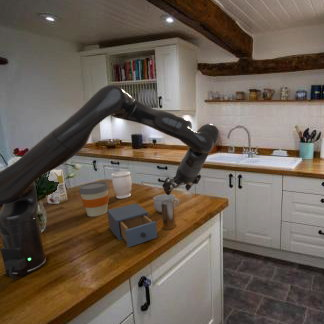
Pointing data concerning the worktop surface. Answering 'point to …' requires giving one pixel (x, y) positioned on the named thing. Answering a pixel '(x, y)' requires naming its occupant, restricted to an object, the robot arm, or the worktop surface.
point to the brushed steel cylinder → (168, 214)
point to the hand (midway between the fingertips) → (177, 190)
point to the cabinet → (123, 216)
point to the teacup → (164, 197)
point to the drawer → (138, 230)
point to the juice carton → (60, 193)
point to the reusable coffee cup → (95, 198)
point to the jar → (122, 184)
